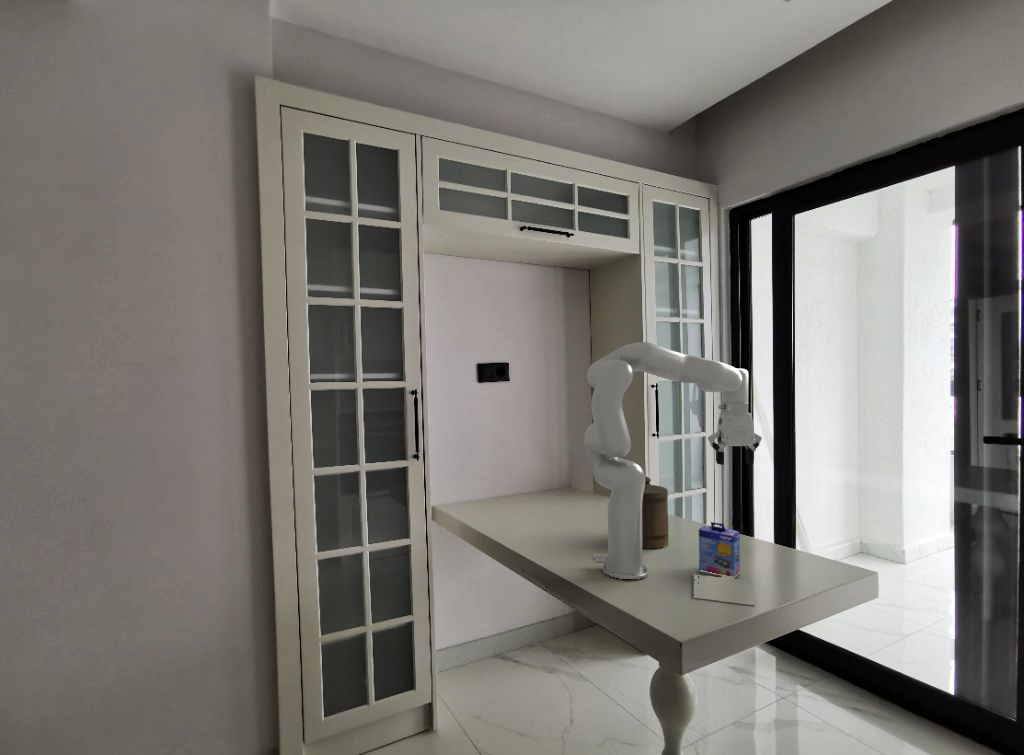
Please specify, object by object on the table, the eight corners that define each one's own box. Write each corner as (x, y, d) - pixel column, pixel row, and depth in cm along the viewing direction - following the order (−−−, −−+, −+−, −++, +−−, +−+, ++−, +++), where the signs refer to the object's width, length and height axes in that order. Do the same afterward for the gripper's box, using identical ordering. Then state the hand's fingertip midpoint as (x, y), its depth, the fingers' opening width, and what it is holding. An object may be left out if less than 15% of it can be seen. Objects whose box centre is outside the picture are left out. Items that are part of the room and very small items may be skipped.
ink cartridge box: (697, 572, 144) (697, 520, 144) (704, 566, 148) (704, 516, 148) (734, 580, 138) (734, 526, 138) (740, 574, 142) (740, 522, 142)
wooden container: (661, 536, 178) (661, 473, 178) (673, 549, 163) (673, 481, 163) (619, 535, 179) (618, 472, 179) (627, 549, 164) (626, 480, 164)
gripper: (715, 409, 153) (715, 466, 152) (768, 409, 155) (768, 465, 155) (702, 408, 160) (702, 462, 160) (753, 408, 162) (753, 461, 162)
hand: (734, 464), depth 157 cm, fingers open, 9 cm apart
